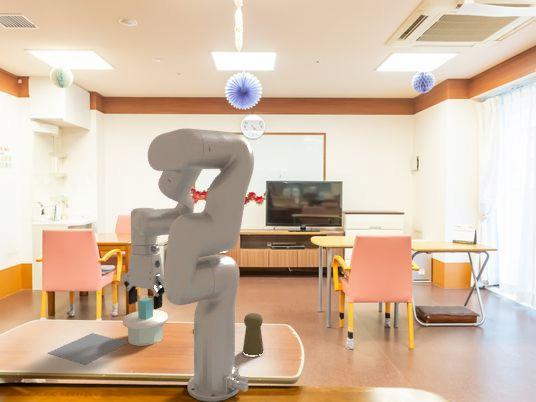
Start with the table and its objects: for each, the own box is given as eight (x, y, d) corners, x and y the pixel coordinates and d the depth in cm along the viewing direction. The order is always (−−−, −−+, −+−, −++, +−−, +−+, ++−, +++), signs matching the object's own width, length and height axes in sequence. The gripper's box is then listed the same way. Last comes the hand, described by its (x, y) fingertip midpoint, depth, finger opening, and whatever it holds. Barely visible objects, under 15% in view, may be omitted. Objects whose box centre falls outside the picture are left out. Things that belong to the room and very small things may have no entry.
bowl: (169, 336, 121) (169, 317, 120) (147, 349, 112) (146, 329, 111) (144, 330, 125) (144, 312, 125) (120, 343, 116) (120, 323, 116)
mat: (128, 343, 116) (128, 342, 115) (85, 366, 102) (85, 364, 102) (92, 334, 122) (92, 333, 122) (47, 354, 108) (47, 353, 108)
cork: (250, 345, 115) (250, 309, 114) (267, 350, 112) (268, 313, 111) (238, 354, 110) (238, 315, 109) (256, 359, 107) (256, 320, 106)
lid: (176, 316, 121) (176, 296, 121) (147, 332, 109) (146, 309, 109) (144, 310, 127) (144, 290, 126) (113, 324, 115) (112, 302, 114)
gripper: (175, 249, 116) (176, 306, 117) (131, 244, 124) (132, 297, 125) (158, 254, 109) (159, 314, 111) (113, 249, 117) (114, 305, 118)
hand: (145, 305), depth 118 cm, fingers open, 9 cm apart
